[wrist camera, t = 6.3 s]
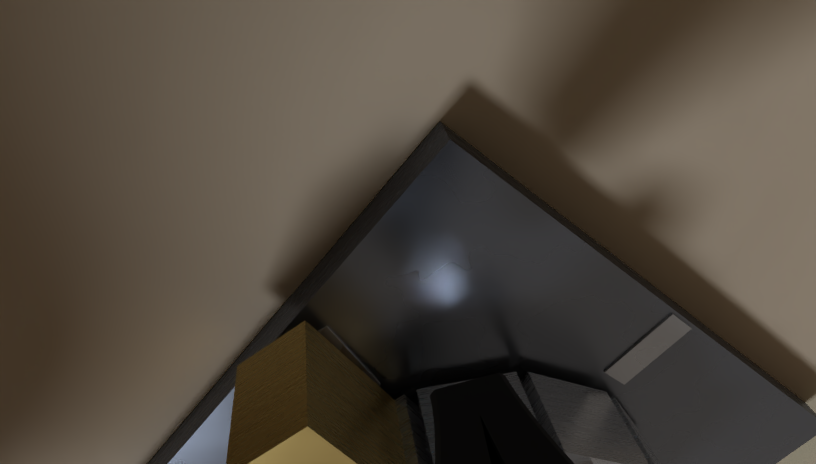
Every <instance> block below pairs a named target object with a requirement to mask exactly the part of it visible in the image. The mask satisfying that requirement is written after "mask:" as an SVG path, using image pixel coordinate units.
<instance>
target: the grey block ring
mask: <svg viewBox="0 0 816 464" xmlns="http://www.w3.org/2000/svg"><path fill="white" fill-rule="evenodd" d="M503 375H505V376H506V378H507V379H508V381H509V383H510V384H511V386H512V387H513V389H514V390H515V391H516V393H517V394H518V396H519V397H520V399H521V400H522V401H523V403H524V404H525V405H526V407H527V408H528V409H529V411H530V412H531V413H532V415H533V416H534V417H535V418H536V420H537V421H538V422H539V423H540V424H541V426H542V427H543V428H544V429H545V431H546V432H547V433H548V434H549V435H550V437H551V438H552V439H553V440H554V441H555V442H556V444H557V445H558V446H559V447H560V448H561V449H562V450H563V451H564V453H565V454H566V455H567V456H568V457H569V458H570V459H571V460H572V461H573V463H574V464H661V463H660V461H659V459H658V458H657V456H656V454H655V453H654V451H653V450H652V448H651V446H650V445H649V443H648V441H647V440H646V439H645V437H644V436H643V435H642V433H641V432H640V431H639V429H638V428H637V427H636V425H635V424H634V423H633V421H632V420H631V418H630V417H629V416H628V414H627V413H626V412H625V410H624V409H623V408H622V406H621V405H620V404H619V402H618V401H617V400H616V398H615V397H614V396H613V397H611V398H610V397H609V395H608V394H607V392H606V391H602V390H598V389H594V388H590V387H586V386H583V385H579V384H575V383H571V382H567V381H563V380H559V379H555V378H551V377H547V376H543V375H539V374H535V373H531V372H528V373H527V374H526V375H525V377H524V378H523V380H522V381H521V382H520V379H519V377H518V375H517V372H510V373H505V374H503ZM471 380H472V379H471ZM465 381H469V380H465ZM465 381H460V382H454V383H448V384H443V385H437V386H432V387H426V388H420V389H417V399H418V406H417V405H416V404H415V403H414V402H413V401H411V400H410V399H409V398H408V397H407V396H406V395H405V394H403V395H401V396H400V397H398V398H397V399H395V400H394V399H393V398H392V397H391V396H390V395H389V394H388V393H386V392H385V391H384V390H383V389H382V388H381V387H380V386H379V385H377V384H376V383H375V382H374V381H373V380H372V379H371V378H370V377H368V376H367V375H366V374H365V373H364V372H363V371H362V370H361V369H360V368H358V367H357V366H356V365H355V364H354V363H353V362H352V361H351V360H349V359H348V358H347V357H346V356H345V355H344V354H343V353H342V352H340V351H339V350H338V349H337V348H336V347H335V346H334V345H333V344H331V343H330V342H329V341H328V340H327V339H326V338H325V337H324V336H323V335H321V334H320V333H319V332H318V331H317V330H316V329H315V328H314V327H312V326H311V325H310V324H309V323H308V322H307V321H306V320H305V321H303V322H302V323H300V324H299V325H297V326H296V327H294V328H293V329H291V330H290V331H288V332H287V333H285V334H284V335H282V336H281V337H279V338H278V339H276V340H275V341H273V342H272V343H270V344H269V345H267V346H266V347H264V348H263V349H261V350H260V351H258V352H257V353H255V354H254V355H252V356H251V357H249V358H248V359H246V360H245V361H243V362H242V363H240V364H239V365H237V373H236V382H235V390H234V399H233V407H232V416H231V425H230V433H229V442H228V451H227V459H226V464H435V432H434V419H433V410H432V404H431V400H430V394H431V393H432V392H433V391H434V390H435V389H439V388H443V387H446V386H450V385H454V384H457V383H461V382H465Z"/></svg>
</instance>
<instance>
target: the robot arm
mask: <svg viewBox="0 0 816 464" xmlns="http://www.w3.org/2000/svg"><path fill="white" fill-rule="evenodd" d="M430 400H431V404H432V410H433V419H434V432H435V464H574V463H573V461H572V460H571V459H570V458H569V457H568V456H567V455H566V454H565V453H564V451H563V450H562V449H561V448H560V447H559V446H558V445H557V444H556V442H555V441H554V440H553V439H552V438H551V437H550V435H549V434H548V433H547V432H546V431H545V429H544V428H543V427H542V426H541V424H540V423H539V422H538V421H537V420H536V418H535V417H534V416H533V415H532V413H531V412H530V411H529V409H528V408H527V407H526V405H525V404H524V403H523V401H522V400H521V399H520V397H519V396H518V394H517V393H516V391H515V390H514V389H513V387H512V386H511V384H510V383H509V381H508V379H507V378H506V376H505V375H503V374H501V373H495V374H491V375H487V376H484V377H480V378H476V379H472V380H469V381H465V382H461V383H457V384H454V385H450V386H446V387H443V388H439V389H435V390H434V391H433V392H432V393H431V394H430Z"/></svg>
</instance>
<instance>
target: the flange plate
mask: <svg viewBox="0 0 816 464" xmlns="http://www.w3.org/2000/svg"><path fill="white" fill-rule="evenodd" d="M305 320H306V321H307V322H308V323H309V324H310V325H311V326H312V327H314V328H315V329H316V330H317V331H318V332H319V333H320V334H321V335H323V336H324V337H325V338H326V339H327V340H328V341H329V342H330V343H331V344H333V345H334V346H335V347H336V348H337V349H338V350H339V351H340V352H342V353H343V354H344V355H345V356H346V357H347V358H348V359H349V360H351V361H352V362H353V363H354V364H355V365H356V366H357V367H358V368H360V369H361V370H362V371H363V372H364V373H365V374H366V375H367V376H368V377H370V378H371V379H372V380H373V381H374V382H375V383H376V384H377V385H379V386H380V387H381V388H382V389H383V390H384V391H385V392H386V393H388V394H389V395H390V396H391V397H392V398H393V399H394V400H395V399H397V398H398V397H400V396H401V395H403V394H405V395H406V396H407V397H408V398H409V399H410V400H411V401H413V402H414V403H415V404H416V405H417V406H418V399H417V389H420V388H426V387H432V386H437V385H443V384H448V383H454V382H460V381H465V380H471V379H476V378H480V377H484V376H487V375H491V374H495V373H501V374H505V373H510V372H517V375H518V377H519V379H520V382H521V381H522V380H523V378H524V377H525V375H526V374H527V373H528V372H531V373H535V374H539V375H543V376H547V377H551V378H555V379H559V380H563V381H567V382H571V383H575V384H579V385H583V386H586V387H590V388H594V389H598V390H602V391H606V392H607V394H608V395H609V397H610V398H611V397H613V396H614V397H615V398H616V400H617V401H618V402H619V404H620V405H621V406H622V408H623V409H624V410H625V412H626V413H627V414H628V416H629V417H630V418H631V420H632V421H633V423H634V424H635V425H636V427H637V428H638V429H639V431H640V432H641V433H642V435H643V436H644V437H645V439H646V440H647V441H648V443H649V445H650V446H651V448H652V450H653V451H654V453H655V454H656V456H657V458H658V459H659V461H660V463H661V464H776V463H777V462H779V461H780V460H782V459H783V458H784V457H786V456H787V455H789V454H790V453H791V452H793V451H794V450H796V449H797V448H799V447H800V446H801V445H803V444H804V443H806V442H807V441H809V440H810V439H811V438H813V437H814V436H816V414H815V412H814V411H813V410H812V409H811V408H810V407H809V406H808V405H807V404H806V403H805V402H803V401H802V400H801V399H800V398H798V397H797V396H796V395H794V394H793V393H792V392H790V391H789V390H788V389H787V388H785V387H784V386H783V385H781V384H780V383H779V382H777V381H776V380H775V379H774V378H772V377H771V376H770V375H768V374H767V373H766V372H765V371H763V370H762V369H761V368H759V367H758V366H757V365H755V364H754V363H753V362H752V361H750V360H749V359H748V358H746V357H745V356H744V355H742V354H741V353H740V352H739V351H737V350H736V349H735V348H733V347H732V346H731V345H729V344H728V343H727V342H726V341H724V340H723V339H722V338H720V337H719V336H718V335H716V334H715V333H714V332H713V331H711V330H710V329H709V328H707V327H706V326H705V325H704V324H702V323H701V322H700V321H698V320H697V319H696V318H694V317H693V316H692V315H691V314H689V313H688V312H687V311H685V310H684V309H683V308H681V307H680V306H679V305H678V304H676V303H675V302H674V301H672V300H671V299H670V298H668V297H667V296H666V295H665V294H663V293H662V292H661V291H659V290H658V289H657V288H655V287H654V286H653V285H652V284H650V283H649V282H648V281H646V280H645V279H644V278H643V277H641V276H640V275H639V274H637V273H636V272H635V271H633V270H632V269H631V268H630V267H628V266H627V265H626V264H624V263H623V262H622V261H620V260H619V259H618V258H617V257H615V256H614V255H613V254H611V253H610V252H609V251H607V250H606V249H605V248H604V247H602V246H601V245H600V244H598V243H597V242H596V241H594V240H593V239H592V238H591V237H589V236H588V235H587V234H585V233H584V232H583V231H582V230H580V229H579V228H578V227H576V226H575V225H574V224H572V223H571V222H570V221H569V220H567V219H566V218H565V217H563V216H562V215H561V214H559V213H558V212H557V211H556V210H554V209H553V208H552V207H550V206H549V205H548V204H546V203H545V202H544V201H543V200H541V199H540V198H539V197H537V196H536V195H535V194H533V193H532V192H531V191H530V190H528V189H527V188H526V187H524V186H523V185H522V184H521V183H519V182H518V181H517V180H515V179H514V178H513V177H511V176H510V175H509V174H508V173H506V172H505V171H504V170H502V169H501V168H500V167H498V166H497V165H496V164H495V163H493V162H492V161H491V160H489V159H488V158H487V157H485V156H484V155H483V154H482V153H480V152H479V151H478V150H476V149H475V148H474V147H472V146H471V145H470V144H469V143H467V142H466V141H465V140H463V139H462V138H461V137H460V136H458V135H457V134H456V133H454V132H453V131H452V130H450V129H449V128H448V127H447V126H445V125H444V124H443V123H441V122H439V123H438V124H437V125H436V126H435V128H434V129H433V130H432V131H431V132H430V133H429V135H428V136H427V137H426V138H425V139H424V141H423V142H422V143H421V144H420V145H419V146H418V148H417V149H416V150H415V151H414V152H413V153H412V155H411V156H410V157H409V158H408V159H407V160H406V162H405V163H404V164H403V165H402V166H401V167H400V169H399V170H398V171H397V172H396V173H395V175H394V176H393V177H392V178H391V179H390V180H389V182H388V183H387V184H386V185H385V186H384V187H383V189H382V190H381V191H380V192H379V193H378V194H377V196H376V197H375V198H374V199H373V200H372V201H371V203H370V204H369V205H368V206H367V207H366V209H365V210H364V211H363V212H362V213H361V214H360V216H359V217H358V218H357V219H356V220H355V221H354V223H353V224H352V225H351V226H350V227H349V228H348V230H347V231H346V232H345V233H344V234H343V236H342V237H341V238H340V239H339V240H338V241H337V243H336V244H335V245H334V246H333V247H332V248H331V250H330V251H329V252H328V253H327V254H326V255H325V257H324V258H323V259H322V260H321V261H320V262H319V264H318V265H317V266H316V267H315V268H314V270H313V271H312V272H311V273H310V274H309V275H308V277H307V278H306V279H305V280H304V281H303V282H302V284H301V285H300V286H299V287H298V288H297V289H296V291H295V292H294V293H293V294H292V295H291V296H290V298H289V299H288V300H287V301H286V302H285V304H284V305H283V306H282V307H281V308H280V309H279V311H278V312H277V313H276V314H275V315H274V316H273V318H272V319H271V320H270V321H269V322H268V323H267V325H266V326H265V327H264V328H263V329H262V330H261V332H260V333H259V334H258V335H257V336H256V338H255V339H254V340H253V341H252V342H251V343H250V345H249V346H248V347H247V348H246V349H245V350H244V352H243V353H242V354H241V355H240V356H239V357H238V359H237V360H236V361H235V362H234V363H233V365H232V366H231V367H230V368H229V369H228V370H227V372H226V373H225V374H224V375H223V376H222V377H221V379H220V380H219V381H218V382H217V383H216V384H215V386H214V387H213V388H212V389H211V390H210V391H209V393H208V394H207V395H206V396H205V397H204V399H203V400H202V401H201V402H200V403H199V404H198V406H197V407H196V408H195V409H194V410H193V411H192V413H191V414H190V415H189V416H188V417H187V418H186V420H185V421H184V422H183V423H182V424H181V425H180V427H179V428H178V429H177V430H176V431H175V433H174V434H173V435H172V436H171V437H170V438H169V440H168V441H167V442H166V443H165V444H164V445H163V447H162V448H161V449H160V450H159V451H158V452H157V454H156V455H155V456H154V457H153V458H152V459H151V461H150V462H149V463H148V464H226V459H227V451H228V442H229V433H230V425H231V416H232V407H233V399H234V390H235V382H236V373H237V365H239V364H240V363H242V362H243V361H245V360H246V359H248V358H249V357H251V356H252V355H254V354H255V353H257V352H258V351H260V350H261V349H263V348H264V347H266V346H267V345H269V344H270V343H272V342H273V341H275V340H276V339H278V338H279V337H281V336H282V335H284V334H285V333H287V332H288V331H290V330H291V329H293V328H294V327H296V326H297V325H299V324H300V323H302V322H303V321H305Z"/></svg>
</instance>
